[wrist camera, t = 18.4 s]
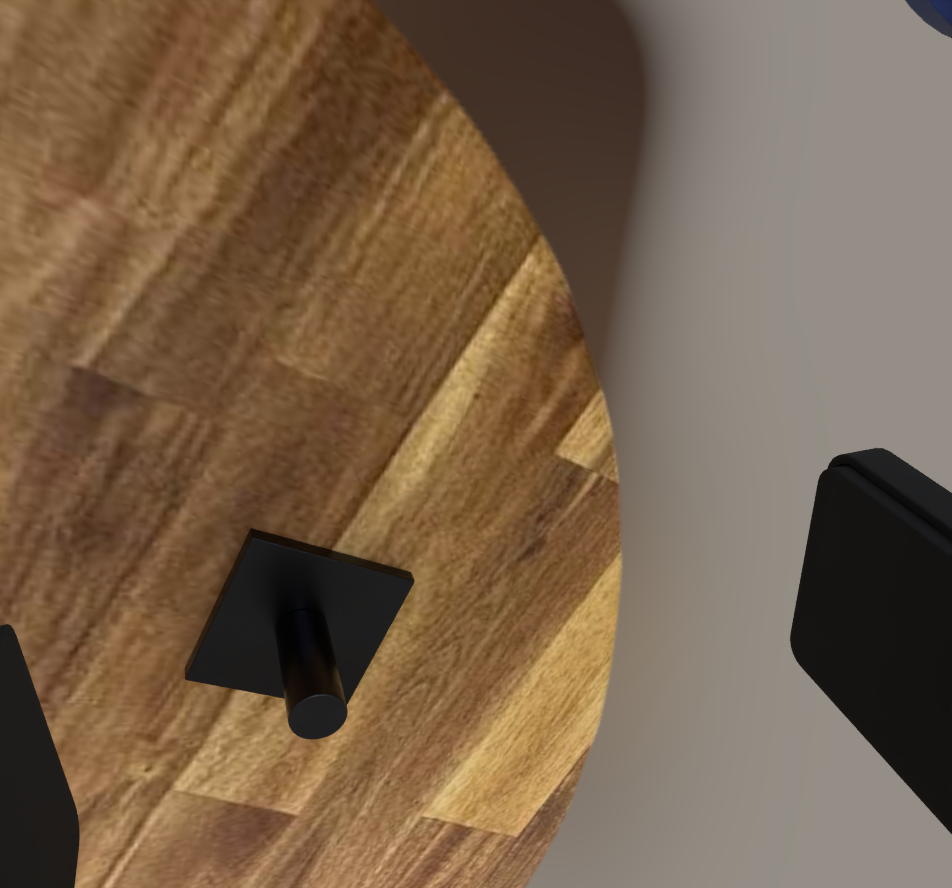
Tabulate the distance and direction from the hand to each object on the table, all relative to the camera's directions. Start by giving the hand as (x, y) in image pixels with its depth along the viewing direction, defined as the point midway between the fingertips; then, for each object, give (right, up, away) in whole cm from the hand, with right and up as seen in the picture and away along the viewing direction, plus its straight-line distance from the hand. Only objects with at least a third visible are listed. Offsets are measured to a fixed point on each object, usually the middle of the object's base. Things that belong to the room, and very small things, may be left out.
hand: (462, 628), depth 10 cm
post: (-8, -6, +32) cm, 33 cm away
